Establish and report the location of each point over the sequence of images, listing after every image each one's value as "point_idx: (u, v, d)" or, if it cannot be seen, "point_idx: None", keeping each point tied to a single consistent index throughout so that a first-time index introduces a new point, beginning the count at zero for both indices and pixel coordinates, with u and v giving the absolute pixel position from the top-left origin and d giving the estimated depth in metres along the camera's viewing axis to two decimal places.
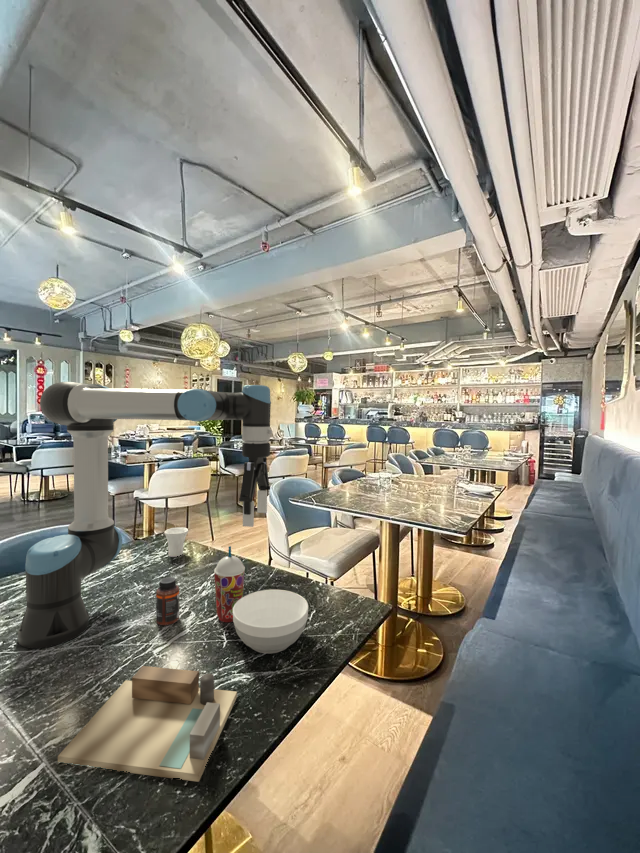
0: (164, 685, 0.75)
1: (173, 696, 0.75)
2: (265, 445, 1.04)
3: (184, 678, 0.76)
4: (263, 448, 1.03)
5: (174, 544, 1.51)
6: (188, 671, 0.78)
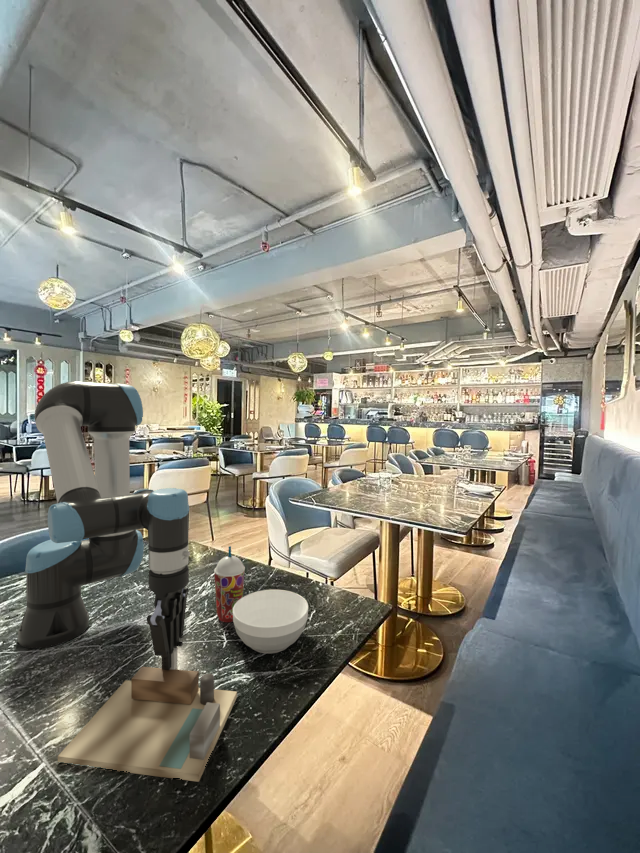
0: (164, 686, 0.75)
1: (173, 696, 0.75)
2: (179, 575, 0.76)
3: (184, 678, 0.76)
4: (175, 580, 0.75)
5: None
6: (188, 671, 0.78)
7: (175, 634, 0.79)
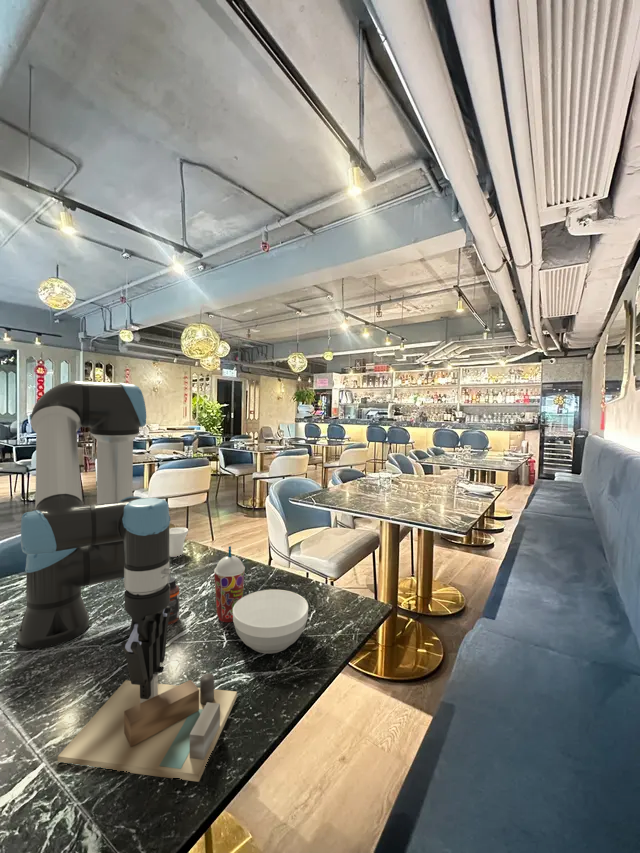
0: (170, 708, 0.69)
1: (180, 714, 0.70)
2: (158, 595, 0.68)
3: (186, 690, 0.72)
4: (153, 601, 0.67)
5: (174, 544, 1.51)
6: (181, 685, 0.74)
7: (155, 659, 0.72)
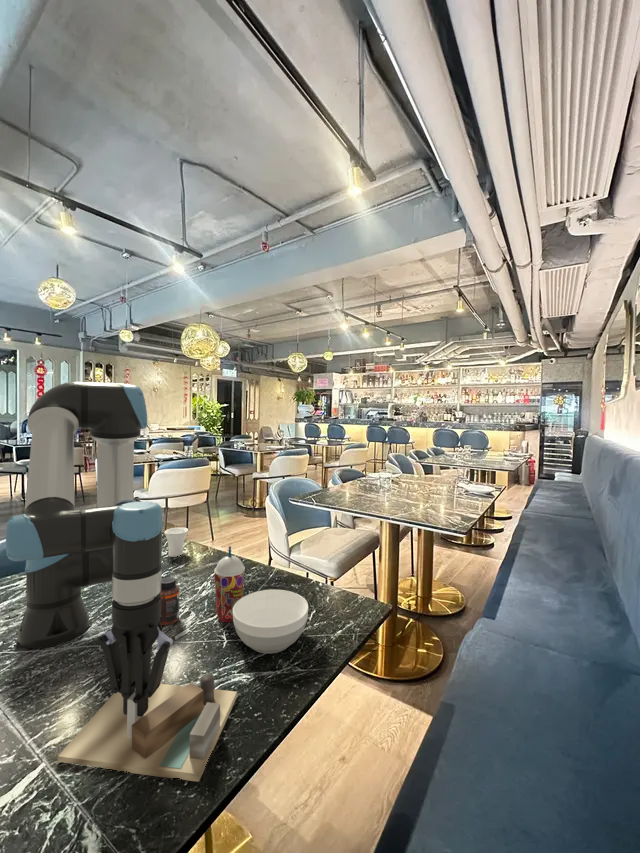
0: (179, 713, 0.68)
1: (188, 717, 0.70)
2: None
3: (191, 693, 0.72)
4: None
5: (174, 544, 1.51)
6: (182, 689, 0.73)
7: (136, 674, 0.67)
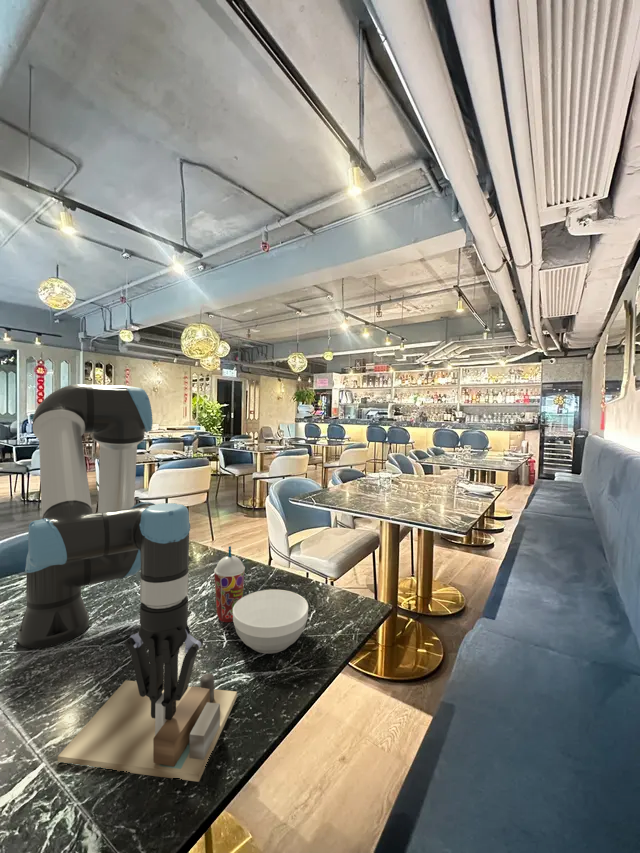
0: (195, 715, 0.68)
1: None
2: None
3: (198, 694, 0.71)
4: None
5: None
6: (187, 693, 0.71)
7: (163, 677, 0.67)
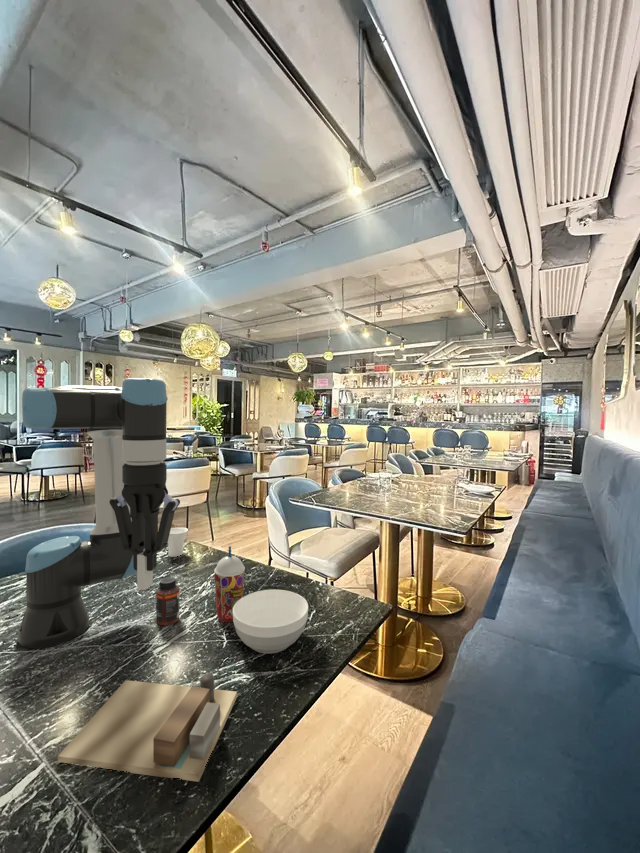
0: (195, 715, 0.68)
1: None
2: None
3: (198, 694, 0.71)
4: None
5: (174, 544, 1.51)
6: (187, 693, 0.71)
7: (144, 535, 0.74)
